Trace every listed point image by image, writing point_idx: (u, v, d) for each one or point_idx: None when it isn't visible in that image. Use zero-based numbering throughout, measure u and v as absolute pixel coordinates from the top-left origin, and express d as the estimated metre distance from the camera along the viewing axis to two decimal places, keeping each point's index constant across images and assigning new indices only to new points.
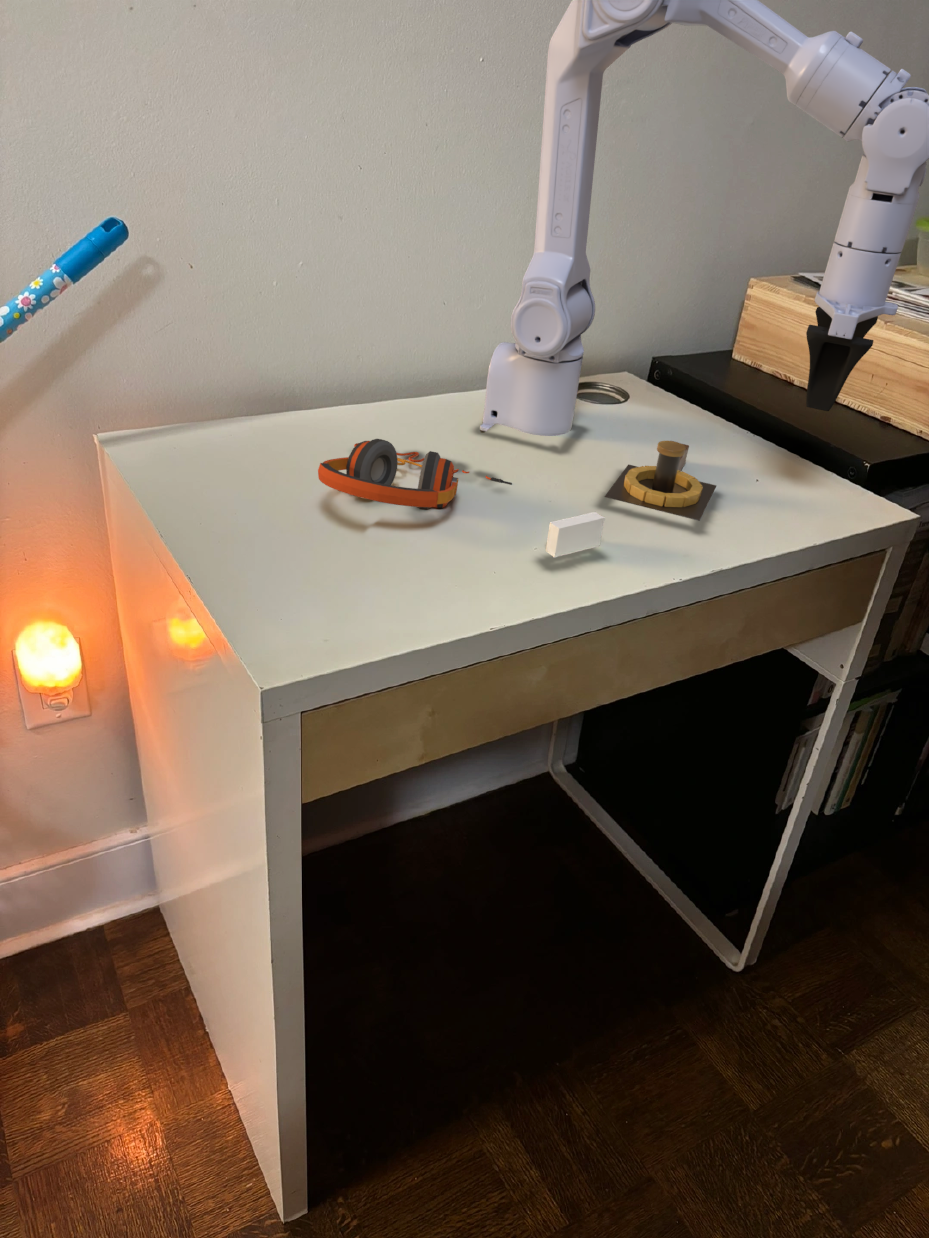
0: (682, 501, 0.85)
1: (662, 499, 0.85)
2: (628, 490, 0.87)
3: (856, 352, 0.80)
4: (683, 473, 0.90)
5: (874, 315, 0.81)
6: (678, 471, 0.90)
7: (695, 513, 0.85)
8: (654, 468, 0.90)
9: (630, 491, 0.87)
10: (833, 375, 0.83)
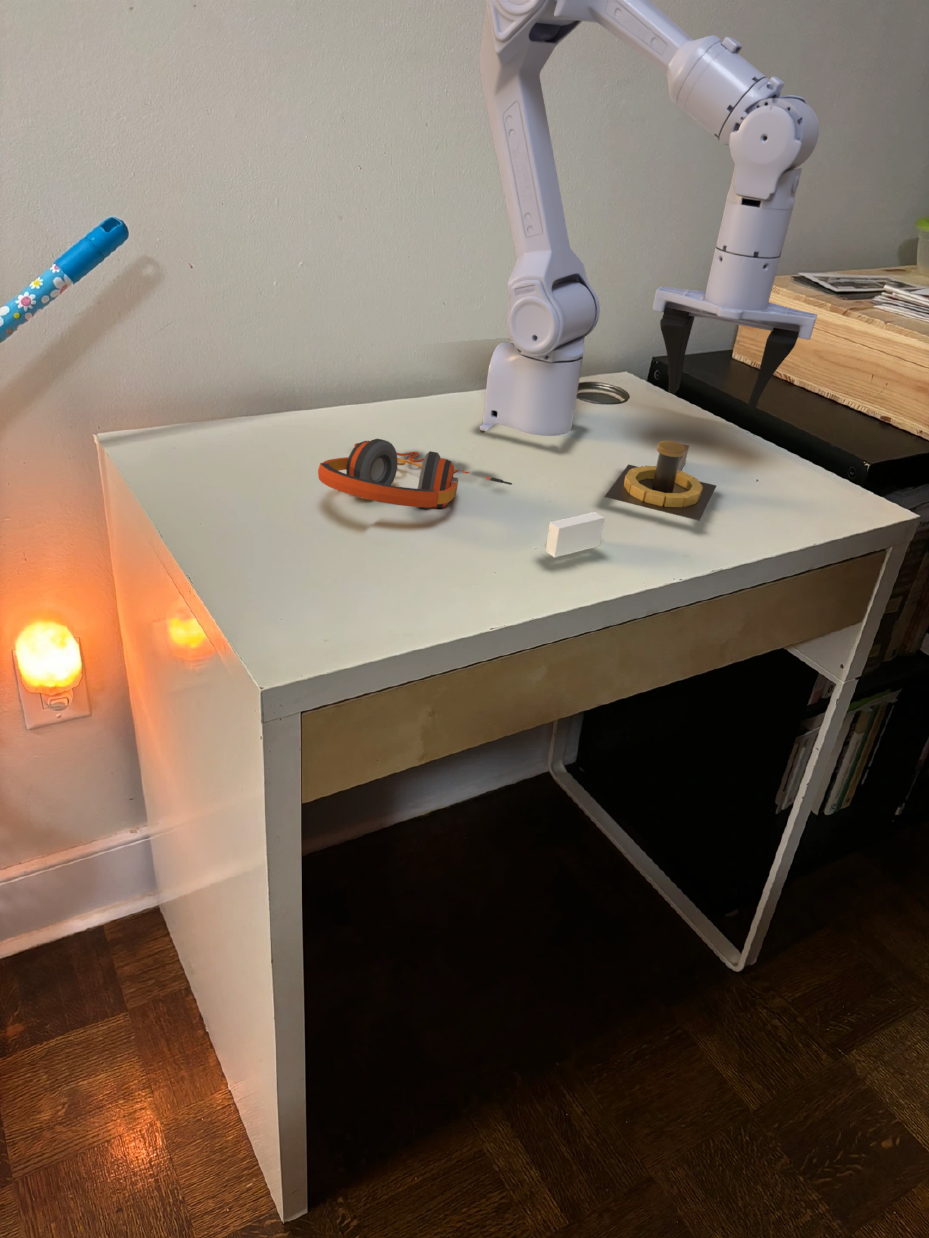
0: (682, 501, 0.85)
1: (662, 499, 0.85)
2: (628, 490, 0.87)
3: None
4: (683, 473, 0.90)
5: (701, 307, 0.84)
6: (678, 471, 0.90)
7: (695, 513, 0.85)
8: (654, 468, 0.90)
9: (630, 491, 0.87)
10: None
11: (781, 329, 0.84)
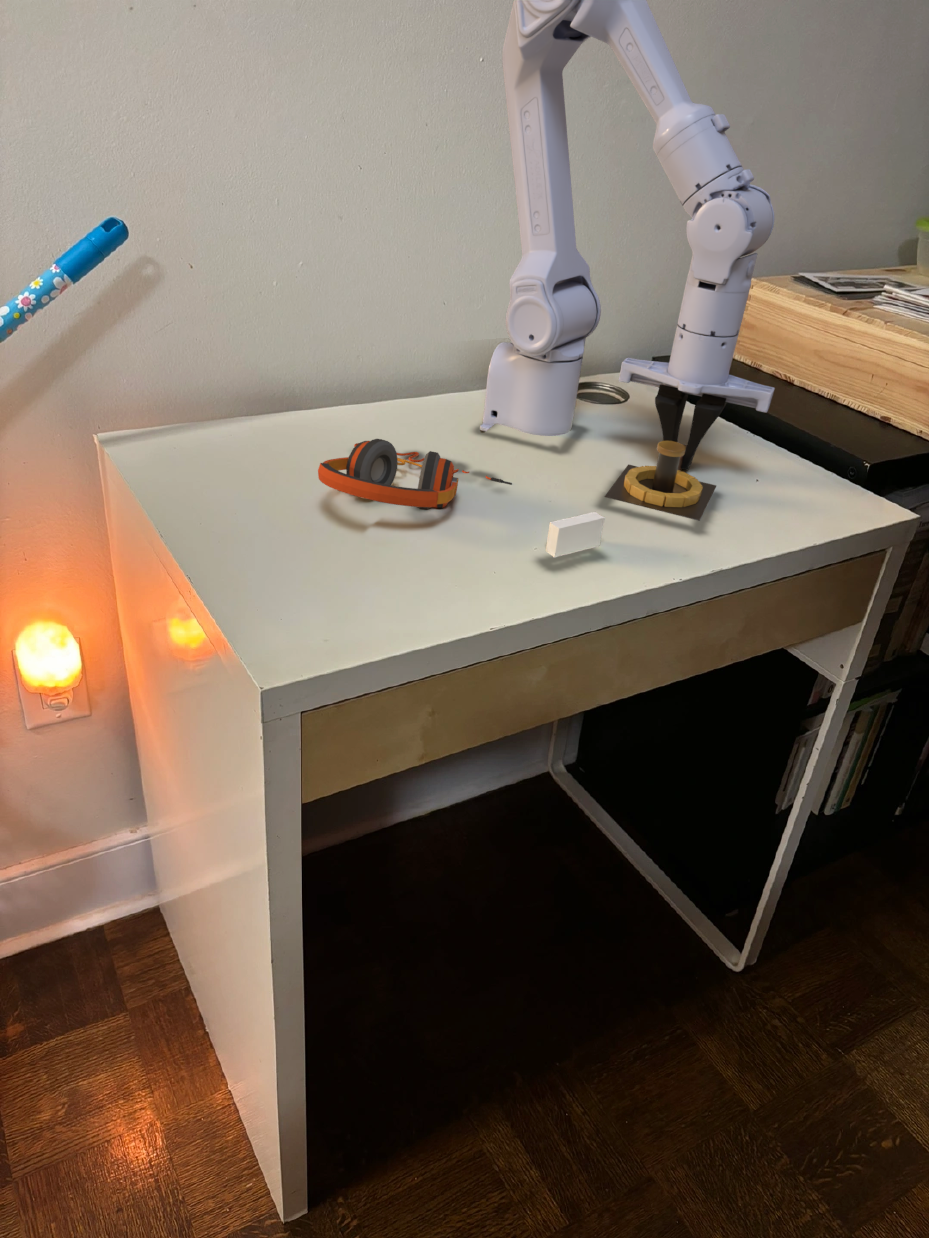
0: (682, 501, 0.85)
1: (662, 499, 0.85)
2: (628, 490, 0.87)
3: None
4: (683, 473, 0.90)
5: (663, 381, 0.88)
6: (678, 471, 0.90)
7: (695, 513, 0.85)
8: (654, 468, 0.90)
9: (630, 491, 0.87)
10: None
11: (710, 395, 0.88)
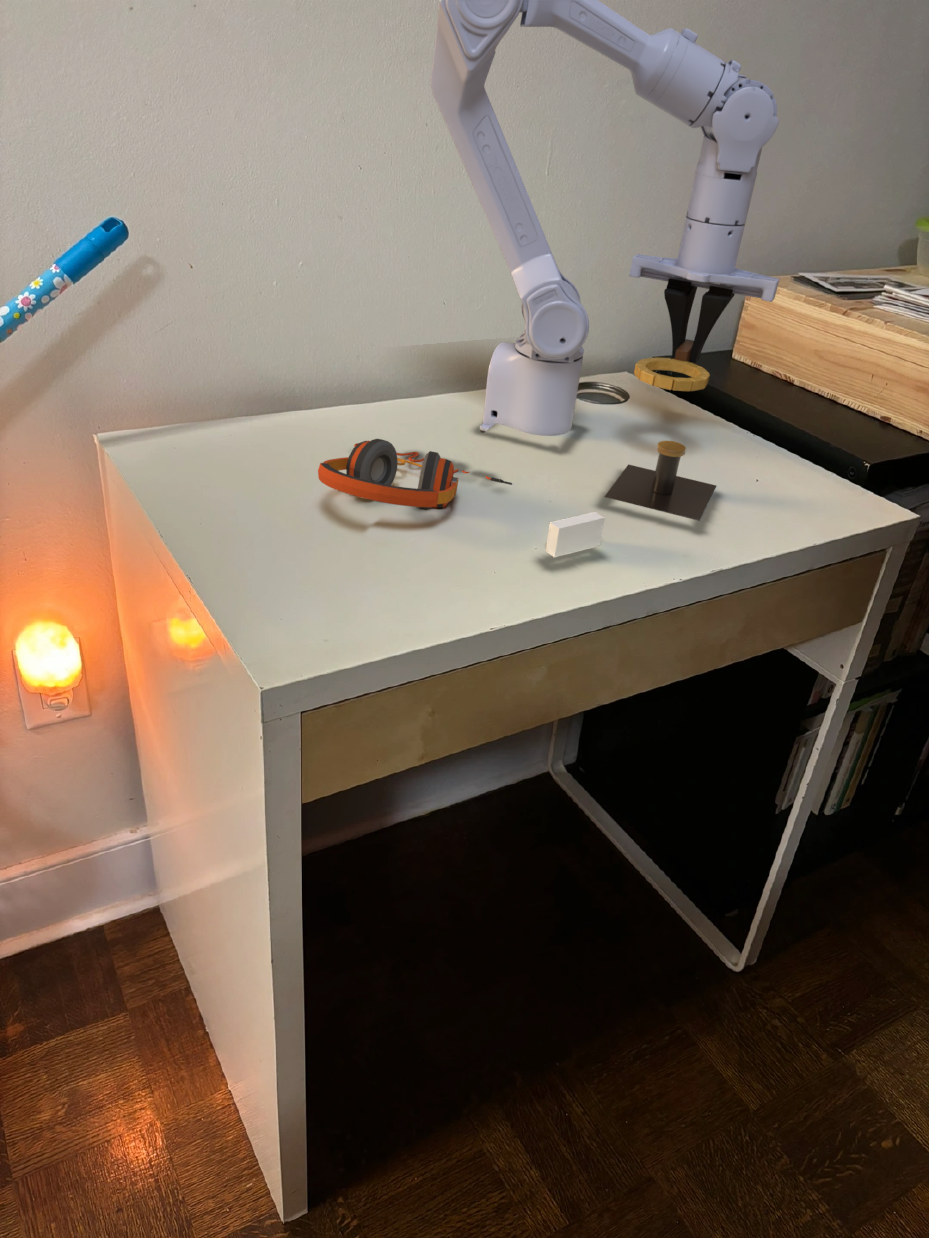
0: (690, 385, 0.89)
1: (671, 382, 0.89)
2: (638, 376, 0.91)
3: None
4: (691, 364, 0.94)
5: (672, 272, 0.91)
6: (686, 362, 0.94)
7: (695, 513, 0.85)
8: (663, 359, 0.94)
9: (640, 377, 0.91)
10: None
11: (717, 287, 0.92)
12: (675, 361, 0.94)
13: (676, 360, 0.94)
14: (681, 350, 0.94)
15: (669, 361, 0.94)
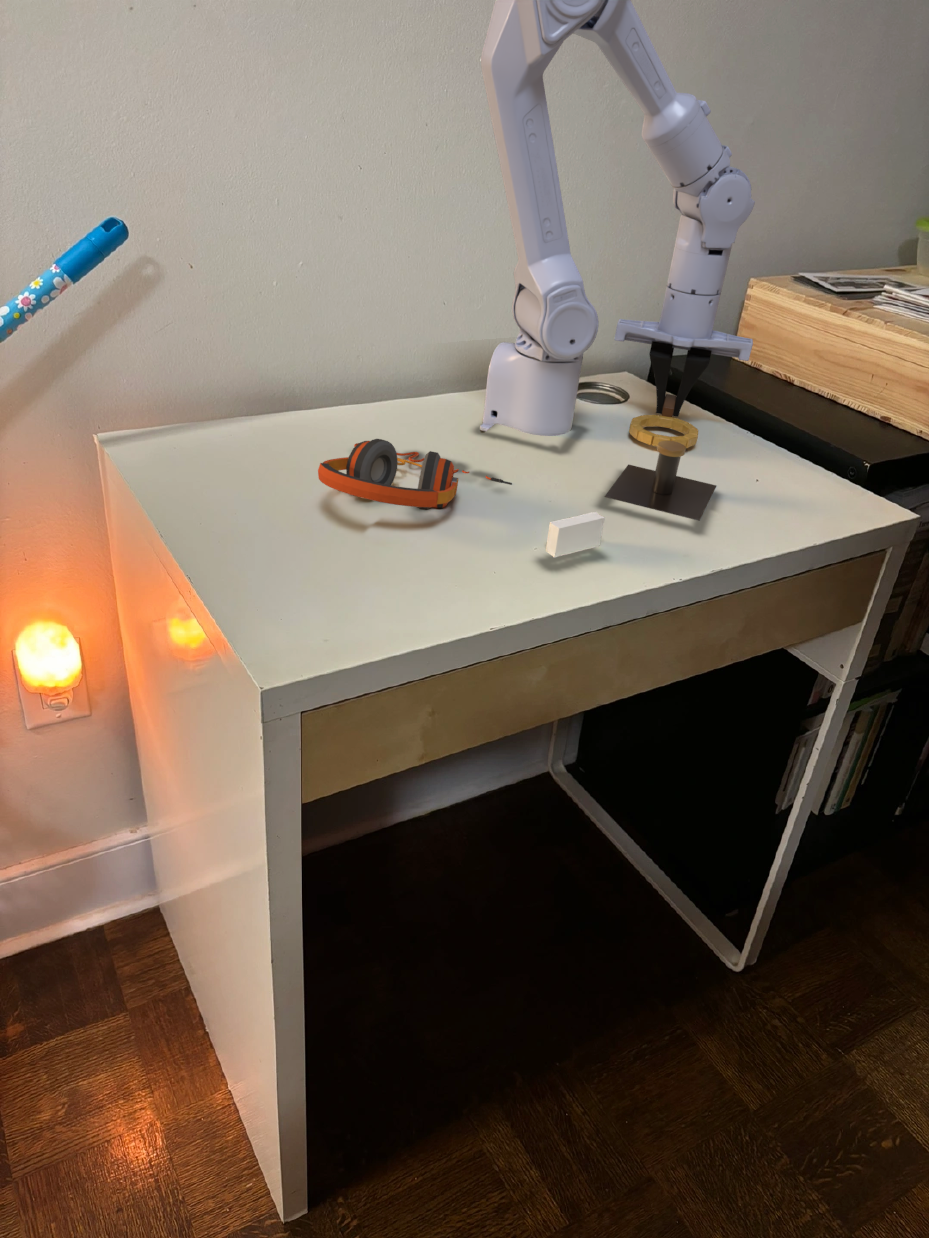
0: (685, 443, 0.96)
1: None
2: (635, 436, 0.98)
3: None
4: (678, 419, 1.01)
5: (657, 337, 0.99)
6: (673, 418, 1.01)
7: (695, 513, 0.85)
8: (652, 416, 1.01)
9: (637, 437, 0.97)
10: None
11: (697, 348, 1.00)
12: (663, 417, 1.01)
13: (663, 416, 1.02)
14: (668, 407, 1.01)
15: (658, 417, 1.01)
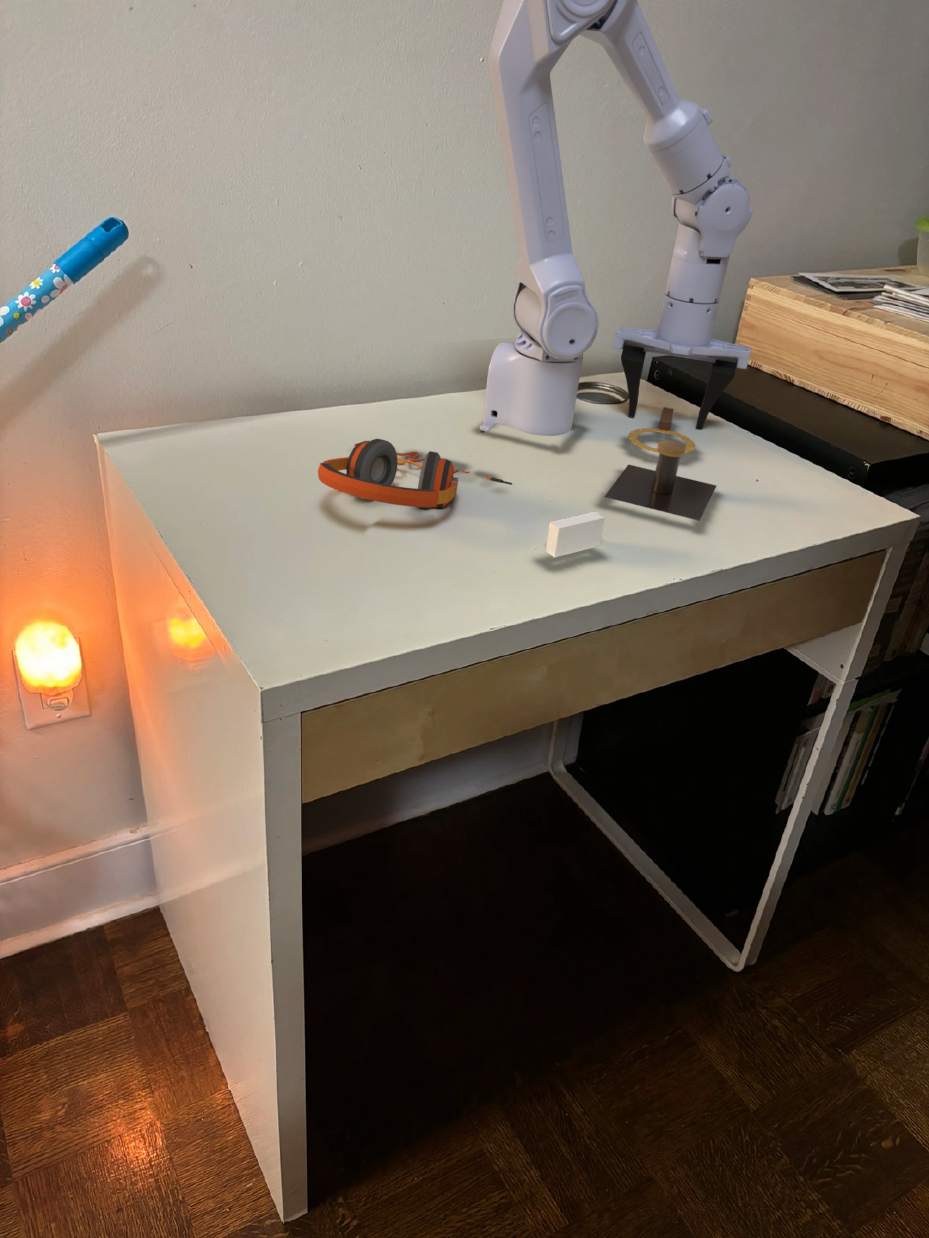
0: None
1: None
2: None
3: None
4: (675, 433, 1.02)
5: (655, 345, 0.99)
6: (670, 431, 1.02)
7: (695, 513, 0.85)
8: (649, 430, 1.02)
9: None
10: None
11: (722, 361, 1.00)
12: (660, 431, 1.02)
13: (660, 430, 1.02)
14: (665, 420, 1.02)
15: (655, 431, 1.02)
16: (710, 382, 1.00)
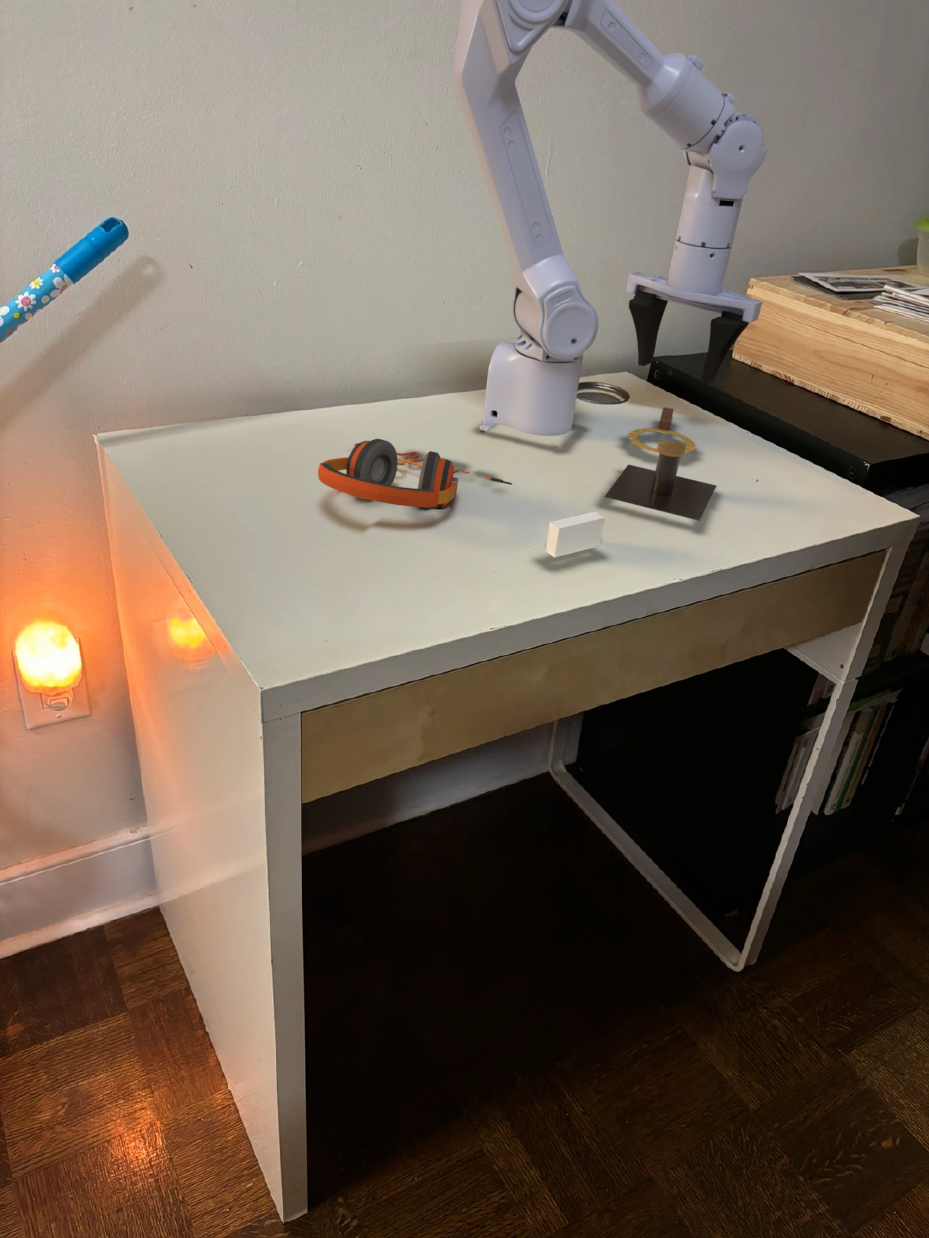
0: None
1: None
2: None
3: (744, 327, 0.97)
4: (675, 433, 1.02)
5: None
6: (670, 431, 1.02)
7: (695, 513, 0.85)
8: (649, 430, 1.02)
9: None
10: (720, 351, 0.99)
11: None
12: (660, 431, 1.02)
13: (660, 430, 1.02)
14: (665, 420, 1.02)
15: (655, 431, 1.02)
16: (663, 309, 1.02)
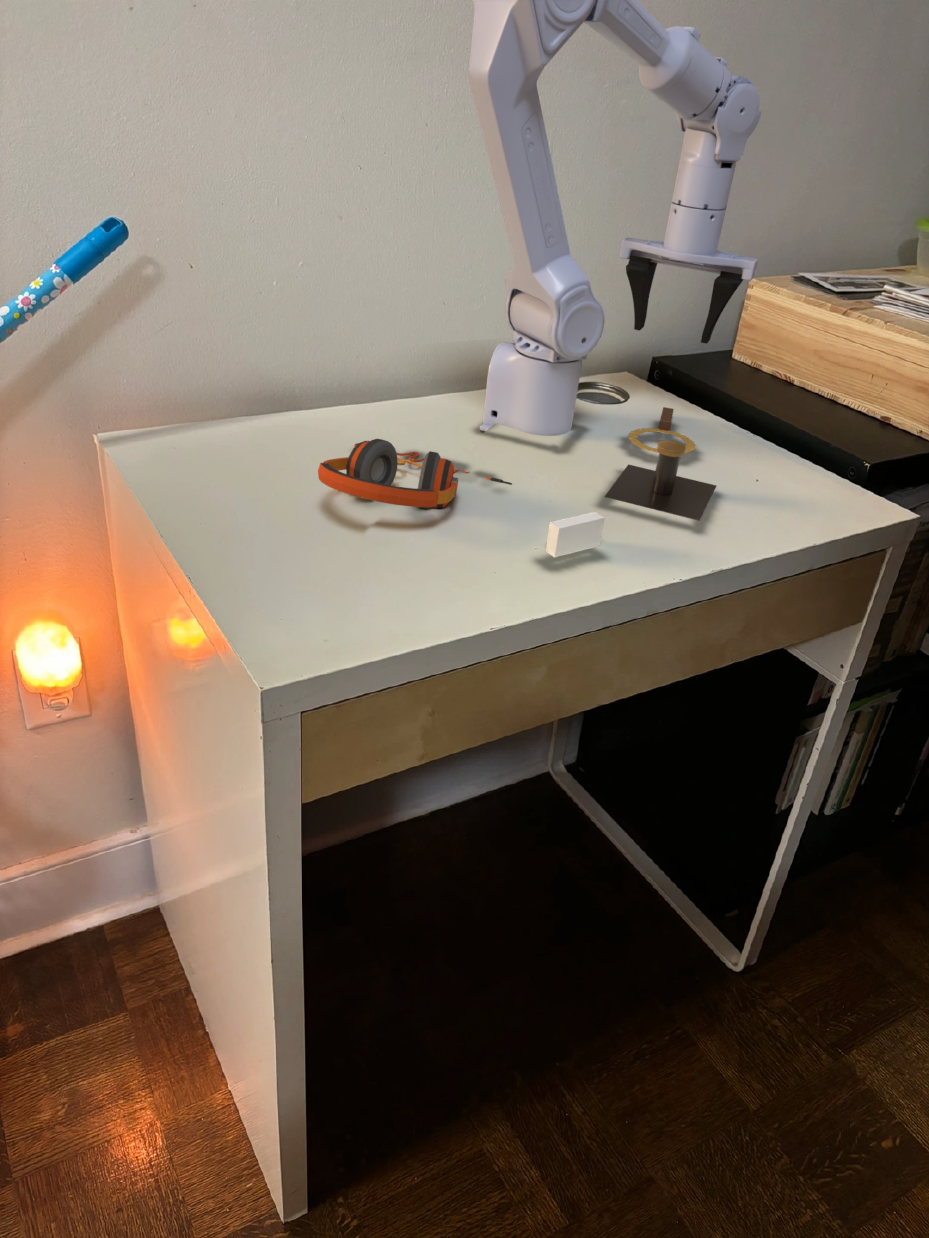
0: None
1: None
2: None
3: (738, 286, 1.01)
4: (675, 433, 1.02)
5: None
6: (670, 431, 1.02)
7: (695, 513, 0.85)
8: (649, 430, 1.02)
9: None
10: None
11: None
12: (660, 431, 1.02)
13: (660, 430, 1.02)
14: (665, 420, 1.02)
15: (655, 431, 1.02)
16: (653, 273, 1.05)
